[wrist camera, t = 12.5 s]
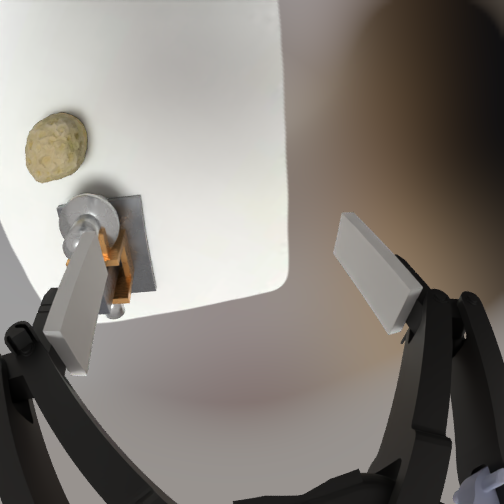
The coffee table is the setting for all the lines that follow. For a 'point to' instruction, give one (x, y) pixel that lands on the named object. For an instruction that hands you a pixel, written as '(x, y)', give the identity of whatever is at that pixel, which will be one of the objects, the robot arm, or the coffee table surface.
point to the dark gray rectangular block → (109, 289)
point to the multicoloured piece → (112, 240)
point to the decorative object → (55, 147)
